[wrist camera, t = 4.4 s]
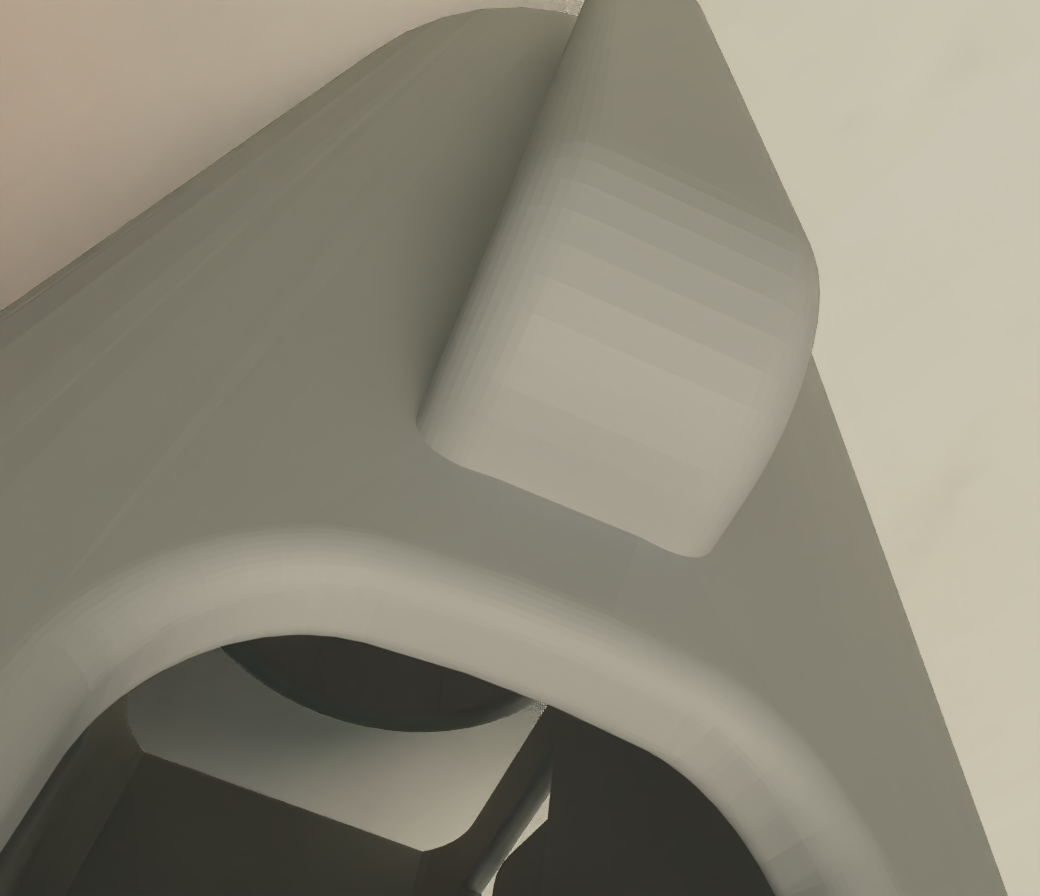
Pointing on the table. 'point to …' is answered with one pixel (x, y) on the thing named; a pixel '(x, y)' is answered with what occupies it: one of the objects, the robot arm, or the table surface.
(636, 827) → the grey plastic housing
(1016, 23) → the table surface
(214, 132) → the table surface
